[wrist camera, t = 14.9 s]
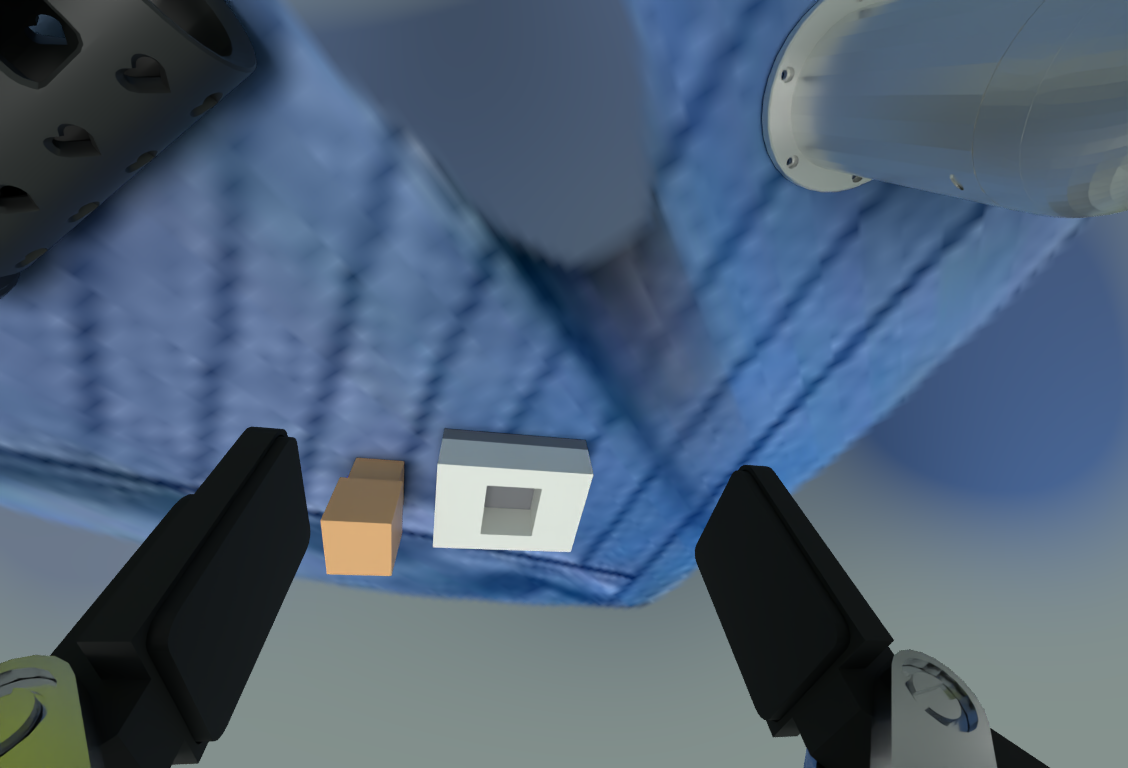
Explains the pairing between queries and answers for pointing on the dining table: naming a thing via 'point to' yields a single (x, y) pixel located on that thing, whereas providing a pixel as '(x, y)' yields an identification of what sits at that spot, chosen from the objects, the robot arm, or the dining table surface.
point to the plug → (365, 519)
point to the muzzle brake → (99, 104)
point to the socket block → (510, 491)
